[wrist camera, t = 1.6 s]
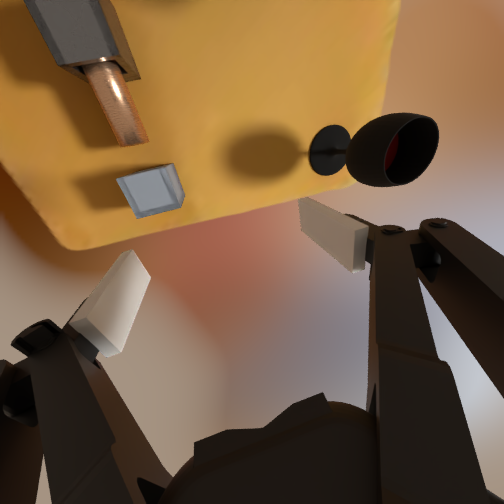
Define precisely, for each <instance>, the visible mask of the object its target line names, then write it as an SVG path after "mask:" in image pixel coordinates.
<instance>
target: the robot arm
mask: <svg viewBox="0 0 504 504" xmlns="http://www.w3.org/2000/svg"><path fill="white" fill-rule="evenodd" d="M298 203H299V213H300V223H301V230H302V231H303V232H304V233H305V234H306V235H307V236H309V237H310V238H311V239H312V240H313V241H315V242H316V243H317V244H318V245H319V246H320V247H322V248H323V249H324V250H325V251H326V252H327V253H329V254H330V255H331V256H332V257H334V258H335V259H336V260H337V261H338V262H339V263H340V264H342V265H343V266H344V267H345V268H346V269H348V270H349V271H350V272H351V273H356V272H358V271H361V270H364V269H365V261H367V262H368V263H370V264H371V268H370V275H369V280H370V301H369V349H368V350H369V351H368V390H367V403H366V411H365V410H363V409H361V408H359V407H356V406H353V405H351V404H347V403H343V402H335V401H327V400H326V398H325V396H324V393H319V394H317V395H314V396H312V397H309V398H307V399H304V400H301V401H299V402H296V403H294V404H292V405H291V406H290V407H288V408H287V409H286V410H285V411H283V412H282V413H281V414H280V415H278V416H277V417H276V418H275V419H274V420H272V422H270V423H269V424H268V425H266V426H265V427H263V428H255V429H231V430H225V431H222V432H220V433H217V434H215V435H212V436H210V437H207V438H204V439H202V440H200V441H197V442H194V456H193V457H191V458H190V459H189V460H188V461H187V462H186V463H185V464H184V465H183V466H182V467H181V469H180V470H179V471H178V472H177V474H176V475H175V476H174V477H172V476H171V475H170V474H169V473H168V472H167V470H166V469H165V468H164V467H163V465H162V464H161V462H160V460H159V459H158V457H157V455H156V454H155V452H154V451H153V449H152V447H151V445H150V444H149V442H148V441H147V439H146V437H145V436H144V434H143V432H142V431H141V429H140V427H139V426H138V424H137V423H136V421H135V419H134V417H133V416H132V414H131V413H130V411H129V409H128V408H127V406H126V404H125V403H124V401H123V399H122V398H121V396H120V394H119V393H118V391H117V390H116V388H115V386H114V385H113V383H112V381H111V380H110V378H109V376H108V375H107V373H106V372H105V370H104V368H103V366H102V365H101V363H100V362H99V361H98V360H97V359H96V356H97V354H98V352H99V351H100V352H101V353H102V354H103V355H104V356H105V357H106V358H107V357H110V356H113V355H116V354H119V353H121V352H122V350H123V347H124V345H125V342H126V340H127V337H128V335H129V332H130V330H131V326H132V324H133V322H134V319H135V317H136V314H137V312H138V309H139V307H140V304H141V302H142V299H143V296H144V294H145V291H146V289H147V286H148V284H149V281H150V279H151V277H150V276H149V274H148V272H147V271H146V269H145V268H144V266H143V265H142V263H141V262H140V260H139V258H138V257H137V255H136V254H135V252H134V251H133V249H132V250H129V251H125V252H122V253H121V255H120V256H119V257H118V259H117V260H116V261H115V263H114V264H113V265H112V266H111V268H110V269H109V271H108V272H107V273H106V274H105V276H104V277H103V278H102V280H101V281H100V282H99V284H98V285H97V286H96V288H95V289H94V290H93V291H92V293H91V294H90V296H89V297H88V298H86V299H85V300H84V301H83V302H82V304H81V305H80V306H79V309H77V310H76V311H75V313H74V315H72V317H71V318H70V319H69V321H68V322H67V323H66V324H65V326H64V327H63V329H61V328H59V327H58V326H57V325H56V324H55V323H54V322H52V321H51V320H50V319H45V320H42V321H39V322H37V323H35V324H33V325H31V326H29V327H28V328H26V329H25V330H24V331H22V332H21V333H20V334H19V335H17V336H16V337H15V339H14V340H13V341H12V343H11V346H13V347H14V348H16V349H17V350H19V351H20V352H22V353H23V354H25V355H26V356H28V358H26V359H24V360H22V361H20V362H18V363H16V364H14V365H13V364H11V363H9V362H8V361H6V360H4V359H3V360H0V504H35V503H36V497H37V491H38V484H39V478H40V472H41V466H42V459H43V454H44V459H45V464H46V471H47V477H48V483H49V488H50V495H51V501H52V504H504V500H503V499H501V498H499V497H498V496H497V495H495V494H493V493H492V492H490V491H489V490H487V489H486V486H485V483H484V480H483V476H482V473H481V469H480V466H479V462H478V459H477V455H476V452H475V448H474V445H473V442H472V438H471V435H470V431H469V428H468V424H467V421H466V418H465V414H464V411H463V407H462V404H461V400H460V397H459V394H458V390H457V386H456V383H455V380H454V376H453V373H452V371H451V368H450V366H449V365H448V364H447V362H446V361H441V360H440V359H439V358H438V355H437V351H436V347H435V343H434V340H433V336H432V332H431V328H430V324H429V320H428V316H427V312H426V308H425V304H424V300H423V296H422V292H421V288H420V284H419V280H418V278H419V279H420V280H421V282H422V283H423V285H424V286H425V288H426V289H427V290H428V292H429V293H430V295H431V296H432V297H433V299H434V300H435V301H436V303H437V305H438V306H439V307H440V309H441V310H442V312H443V313H444V314H445V316H446V317H447V319H448V320H449V321H450V323H451V324H452V326H453V327H454V329H455V330H456V331H457V333H458V334H459V336H460V337H461V339H462V340H463V341H464V343H465V344H466V346H467V347H468V348H469V350H470V351H471V353H472V354H473V356H474V357H475V358H476V360H477V361H478V363H479V364H480V365H481V367H482V368H483V370H484V371H485V373H486V374H487V375H488V377H489V378H490V380H491V381H492V382H493V384H494V385H495V387H496V388H497V390H498V391H499V392H500V394H501V395H502V397H503V398H504V256H503V255H501V254H500V253H499V252H497V251H496V250H494V249H493V248H491V247H490V246H488V245H487V244H486V243H484V242H483V241H481V240H480V239H478V238H477V237H475V236H474V235H473V234H471V233H470V232H468V231H467V230H465V229H464V228H463V227H461V226H460V225H458V224H457V223H455V222H453V221H451V220H447V219H443V218H441V219H440V218H434V219H433V218H432V219H426V220H423V221H422V222H421V224H420V227H419V229H417V230H409V231H406V230H405V229H404V228H402V227H400V226H395V225H383V226H377V225H374V224H372V223H370V222H368V221H364V220H363V219H360V218H359V217H357V216H354V215H350V214H342V213H340V212H338V211H336V210H334V209H332V208H330V207H327V206H325V205H323V204H321V203H319V202H317V201H315V200H313V199H311V198H309V197H305V198H301V199H298Z"/></svg>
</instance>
